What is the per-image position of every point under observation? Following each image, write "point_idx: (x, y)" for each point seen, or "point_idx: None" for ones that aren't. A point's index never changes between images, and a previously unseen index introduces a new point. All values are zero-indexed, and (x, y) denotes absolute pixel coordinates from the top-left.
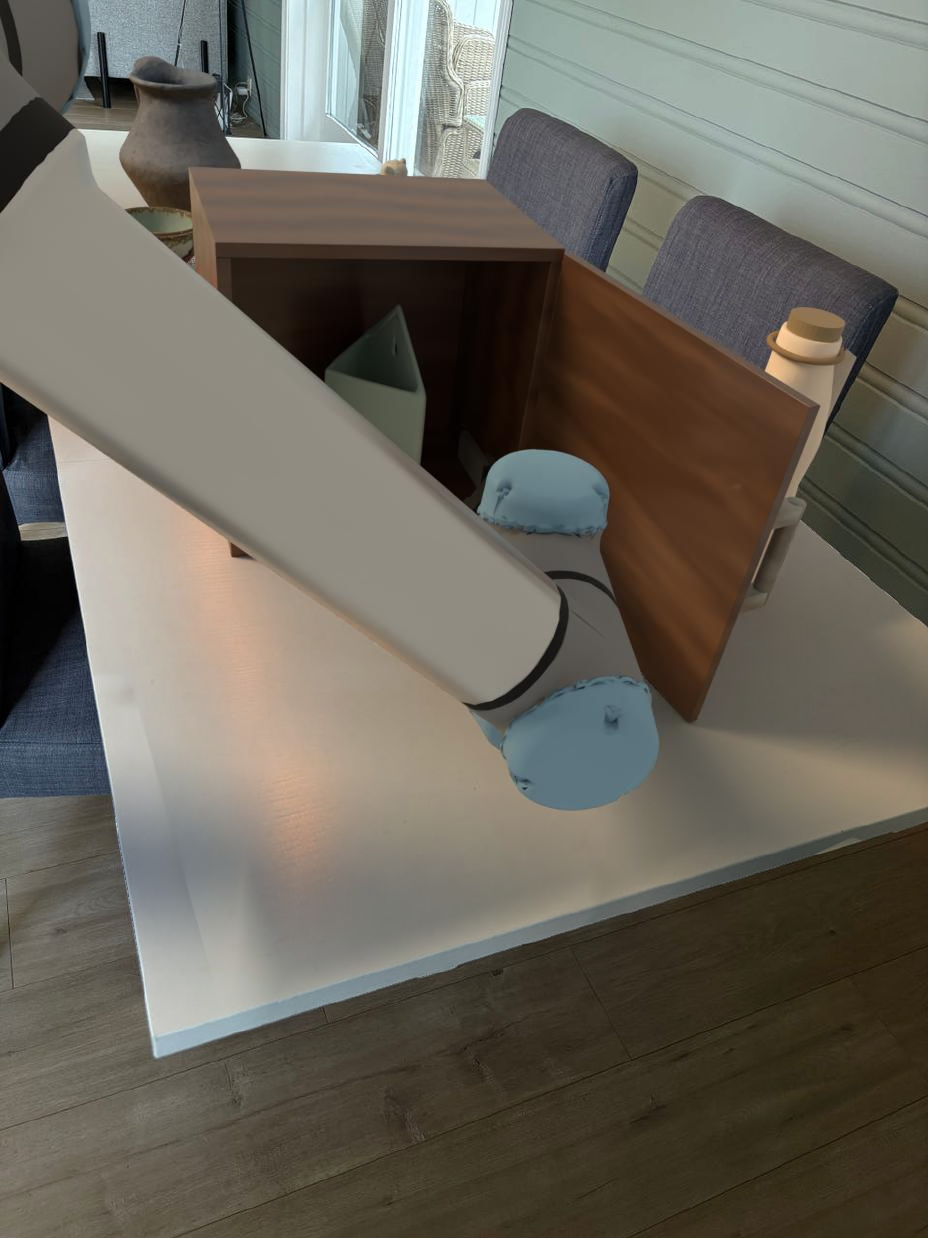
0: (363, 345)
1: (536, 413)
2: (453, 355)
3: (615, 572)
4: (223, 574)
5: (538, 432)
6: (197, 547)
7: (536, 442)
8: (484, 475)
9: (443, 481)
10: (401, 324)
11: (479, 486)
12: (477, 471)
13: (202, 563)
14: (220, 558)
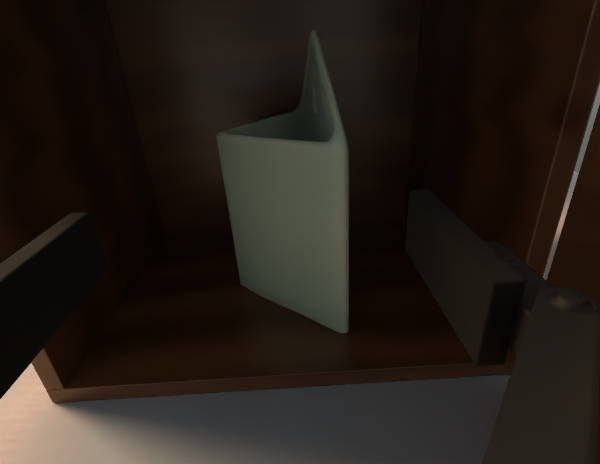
0: (293, 122)
1: (590, 152)
2: (407, 136)
3: None
4: (6, 445)
5: (597, 194)
6: (28, 379)
7: (589, 217)
8: (497, 316)
9: (395, 282)
10: (315, 52)
11: (505, 410)
12: (465, 297)
13: (2, 414)
14: (36, 405)
